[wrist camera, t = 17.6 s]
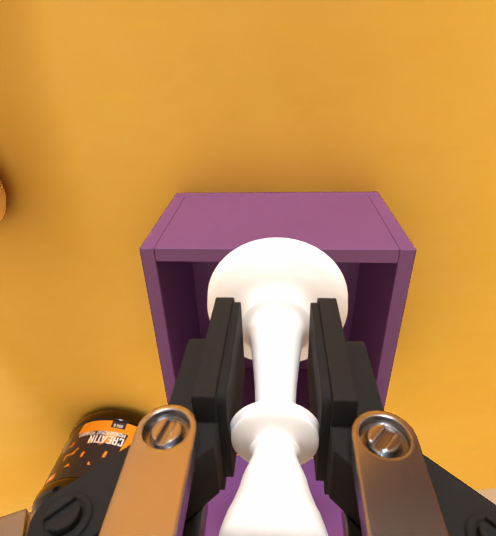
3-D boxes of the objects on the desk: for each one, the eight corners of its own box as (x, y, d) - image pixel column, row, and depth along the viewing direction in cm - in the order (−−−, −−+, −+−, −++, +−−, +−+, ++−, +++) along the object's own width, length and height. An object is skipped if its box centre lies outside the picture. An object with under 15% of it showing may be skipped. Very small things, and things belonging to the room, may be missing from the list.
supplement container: (179, 417, 40) (144, 548, 30) (166, 477, 45) (132, 606, 35) (75, 394, 39) (2, 520, 29) (74, 458, 45) (12, 584, 34)
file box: (176, 192, 28) (138, 248, 21) (377, 191, 27) (416, 249, 20) (197, 366, 36) (176, 451, 29) (353, 370, 35) (373, 460, 28)
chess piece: (336, 357, 15) (414, 779, 6) (209, 348, 15) (116, 744, 7) (358, 241, 13) (528, 664, 4) (206, 232, 13) (55, 613, 4)
